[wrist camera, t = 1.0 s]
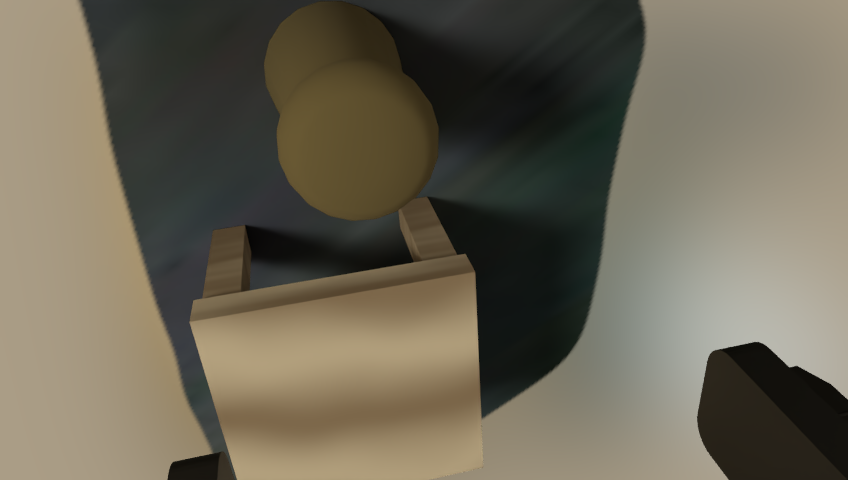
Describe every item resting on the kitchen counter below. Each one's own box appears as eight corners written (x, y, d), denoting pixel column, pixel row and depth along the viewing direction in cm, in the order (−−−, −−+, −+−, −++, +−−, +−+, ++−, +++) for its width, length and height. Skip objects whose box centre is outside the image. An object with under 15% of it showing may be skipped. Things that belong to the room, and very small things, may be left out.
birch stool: (206, 226, 31) (189, 322, 24) (431, 191, 33) (475, 271, 26) (252, 400, 37) (249, 519, 30) (444, 363, 38) (483, 467, 31)
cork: (423, 39, 29) (498, 111, 20) (365, 156, 31) (408, 273, 22) (297, -26, 27) (313, 20, 18) (242, 105, 29) (231, 210, 20)
